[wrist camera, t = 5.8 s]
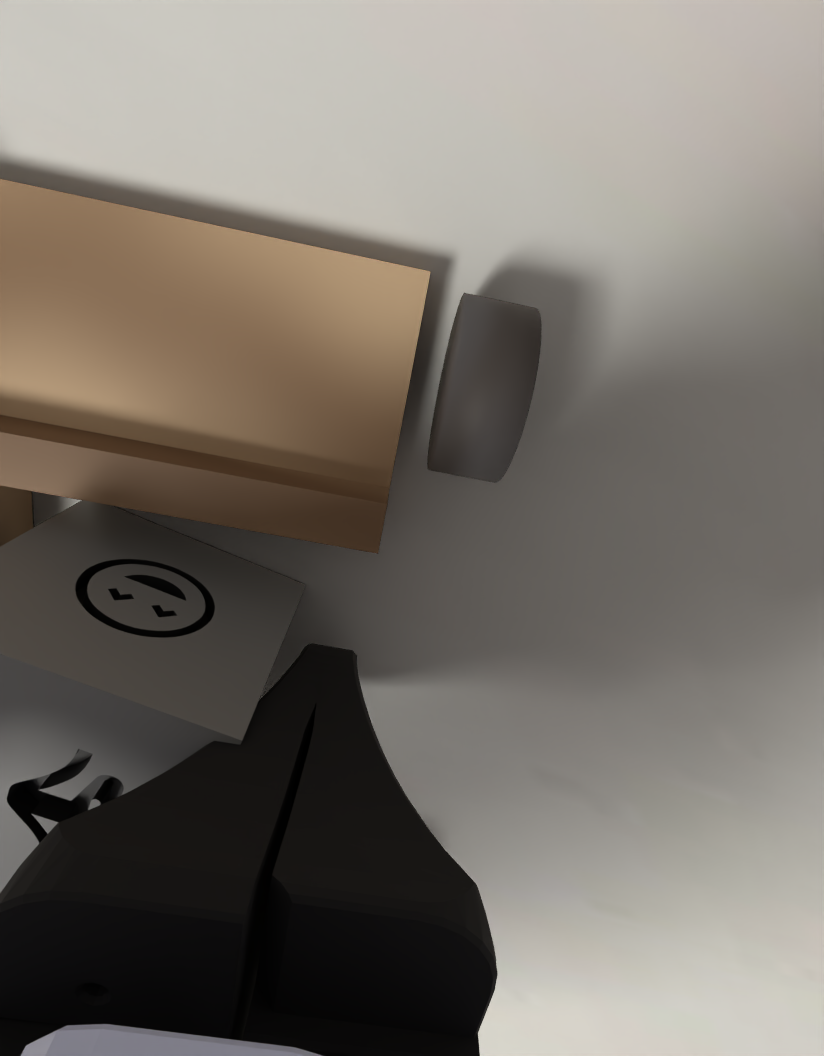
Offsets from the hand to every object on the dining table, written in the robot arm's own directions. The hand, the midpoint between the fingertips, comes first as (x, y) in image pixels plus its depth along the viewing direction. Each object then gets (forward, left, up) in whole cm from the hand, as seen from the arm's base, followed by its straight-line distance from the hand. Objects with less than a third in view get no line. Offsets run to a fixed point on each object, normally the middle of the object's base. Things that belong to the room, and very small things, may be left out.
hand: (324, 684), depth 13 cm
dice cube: (0, +4, -1) cm, 4 cm away
